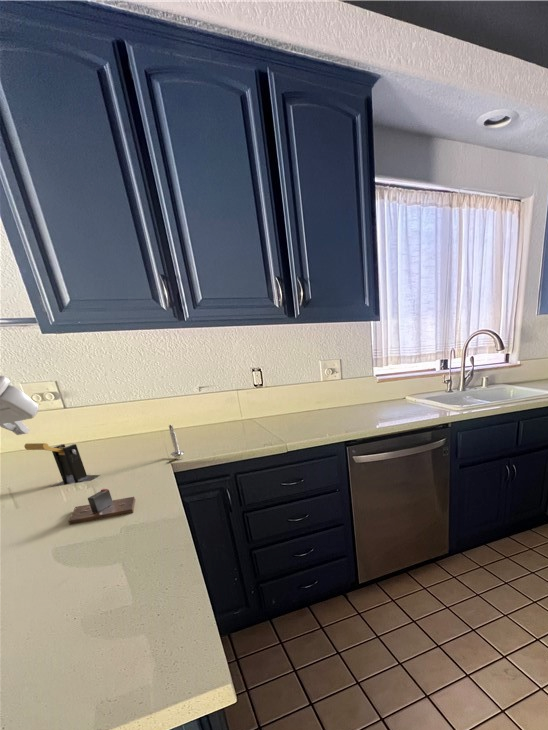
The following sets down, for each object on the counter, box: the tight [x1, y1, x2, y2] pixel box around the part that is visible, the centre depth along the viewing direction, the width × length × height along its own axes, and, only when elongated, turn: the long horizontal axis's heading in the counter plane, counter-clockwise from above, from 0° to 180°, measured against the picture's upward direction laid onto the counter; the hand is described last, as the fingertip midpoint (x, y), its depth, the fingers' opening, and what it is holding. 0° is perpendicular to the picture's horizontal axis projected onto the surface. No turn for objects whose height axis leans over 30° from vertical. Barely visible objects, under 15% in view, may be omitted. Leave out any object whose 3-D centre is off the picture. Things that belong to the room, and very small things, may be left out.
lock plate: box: [68, 496, 136, 526], centre depth 112 cm, size 14×10×3 cm
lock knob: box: [87, 488, 113, 512], centre depth 111 cm, size 6×2×4 cm, turn 175°
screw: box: [168, 424, 185, 461], centre depth 159 cm, size 13×5×5 cm
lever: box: [24, 442, 65, 456], centre depth 130 cm, size 12×6×2 cm, turn 175°
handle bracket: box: [50, 443, 101, 488], centre depth 137 cm, size 11×9×13 cm
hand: (24, 432), depth 111 cm, fingers closed
